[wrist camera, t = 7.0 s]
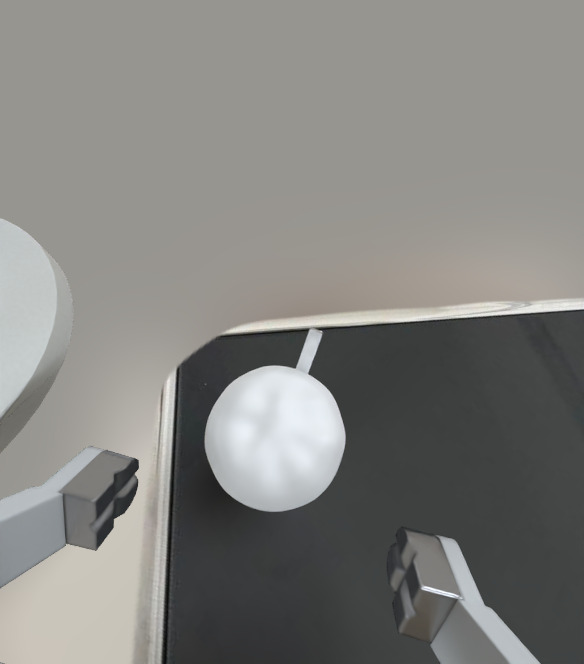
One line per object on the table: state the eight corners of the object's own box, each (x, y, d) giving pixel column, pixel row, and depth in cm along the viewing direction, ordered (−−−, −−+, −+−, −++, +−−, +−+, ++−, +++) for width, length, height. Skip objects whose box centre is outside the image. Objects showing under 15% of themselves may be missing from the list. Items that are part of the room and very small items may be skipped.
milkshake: (329, 416, 18) (386, 357, 9) (294, 510, 16) (325, 558, 7) (262, 386, 18) (253, 302, 9) (219, 472, 16) (155, 469, 7)
